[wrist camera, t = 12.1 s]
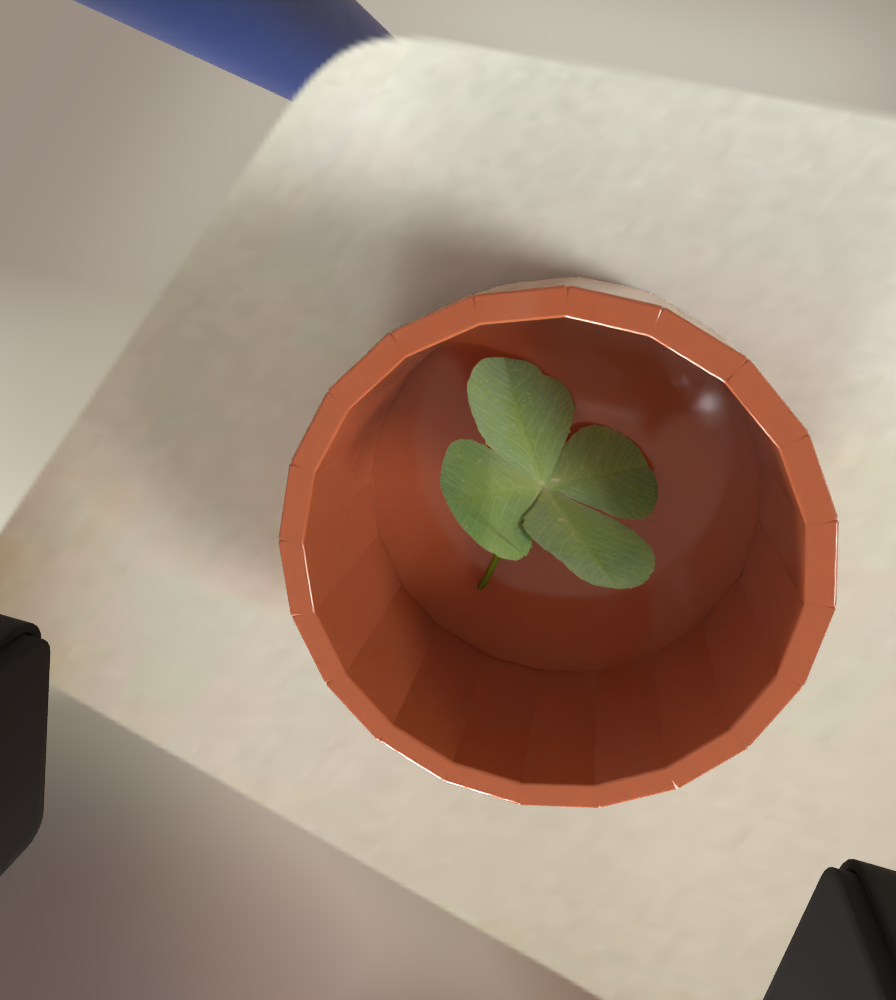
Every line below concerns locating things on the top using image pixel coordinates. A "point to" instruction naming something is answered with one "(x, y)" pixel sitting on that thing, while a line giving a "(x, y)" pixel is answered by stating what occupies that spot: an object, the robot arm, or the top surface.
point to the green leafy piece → (547, 479)
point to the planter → (546, 580)
